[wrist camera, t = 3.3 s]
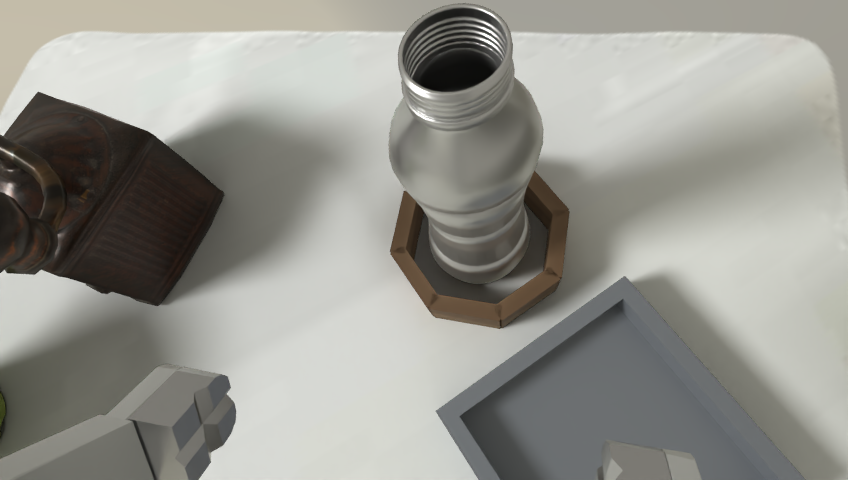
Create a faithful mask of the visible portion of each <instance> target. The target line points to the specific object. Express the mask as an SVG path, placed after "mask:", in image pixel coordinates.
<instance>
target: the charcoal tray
mask: <svg viewBox="0 0 848 480" xmlns="http://www.w3.org/2000/svg"><path fill="white" fill-rule="evenodd" d="M436 412H437V414H438V416H439V417H440V419H441V420H442V422H443V424H444V425H445V427H446V428H447V430H448V432H449V433H450V435H451V436H452V438H453V440H454V441H455V443H456V444H457V446H458V447H459V449H460V451H461V452H462V454H463V455H464V457H465V459H466V460H467V462H468V463H469V465H470V467H471V468H472V470H473V471H474V473H475V475H476V476H477V478H478V479H479V480H595V476H596V472H597V469H598V468H599V467H601V466H602V457H601V451H602V447H603V444H604V442H605V440H612V441H619V442H625V443H631V444H637V445H644V446H650V447H656V448H659V449H667V450H673V451H680V452H686V453H690V454H691V455H692V456H693V457H694V458H695V461H696V464H697V467H698V470H699V473H700V476H701V478H702V480H805V479H804V477H803V476H802V475H801V474H800V473H799V472H798V471H797V470H796V468H795V467H794V466H793V465H792V464H791V463H790V462H789V460H788V459H787V458H786V457H785V456H784V455H783V454H782V453H781V451H780V450H779V449H778V448H777V447H776V446H775V445H774V444H773V442H772V441H771V440H770V439H769V438H768V437H767V436H766V435H765V433H764V432H763V431H762V430H761V429H760V428H759V427H758V426H757V424H756V423H755V422H754V421H753V420H752V419H751V418H750V416H749V415H748V414H747V413H746V412H745V411H744V410H743V409H742V407H741V406H740V405H739V404H738V403H737V402H736V401H735V400H734V398H733V397H732V396H731V395H730V394H729V393H728V392H727V391H726V389H725V388H724V387H723V386H722V385H721V384H720V383H719V382H718V380H717V379H716V378H715V377H714V376H713V375H712V374H711V372H710V371H709V370H708V369H707V368H706V367H705V366H704V365H703V363H702V362H701V361H700V360H699V359H698V358H697V357H696V356H695V354H694V353H693V352H692V351H691V350H690V349H689V348H688V347H687V345H686V344H685V343H684V342H683V341H682V340H681V339H680V338H679V336H678V335H677V334H676V333H675V332H674V331H673V330H672V328H671V327H670V326H669V325H668V324H667V323H666V322H665V321H664V319H663V318H662V317H661V316H660V315H659V314H658V313H657V312H656V310H655V309H654V308H653V307H652V306H651V305H650V304H649V303H648V301H647V300H646V299H645V298H644V297H643V296H642V295H641V294H640V292H639V291H638V290H637V289H636V288H635V287H634V286H633V284H632V283H631V282H630V281H629V280H628V279H627V278H626V277H625V276H624V277H623V278H621V279H620V280H618V281H617V282H616V283H614V284H613V285H611V286H610V287H609V288H607V289H606V290H604V291H603V292H602V293H600V294H599V295H597V296H596V297H595V298H593V299H592V300H590V301H589V302H588V303H586V304H585V305H583V306H582V307H581V308H579V309H578V310H576V311H575V312H574V313H572V314H571V315H569V316H568V317H567V318H565V319H564V320H562V321H561V322H560V323H558V324H557V325H555V326H554V327H553V328H551V329H550V330H548V331H547V332H546V333H544V334H543V335H541V336H540V337H539V338H537V339H536V340H534V341H533V342H532V343H530V344H529V345H527V346H526V347H525V348H523V349H522V350H520V351H519V352H518V353H516V354H515V355H513V356H512V357H511V358H509V359H508V360H506V361H505V362H504V363H502V364H501V365H499V366H498V367H497V368H495V369H494V370H492V371H491V372H490V373H488V374H487V375H485V376H484V377H483V378H481V379H480V380H478V381H477V382H476V383H474V384H473V385H471V386H470V387H469V388H467V389H466V390H464V391H463V392H462V393H460V394H459V395H457V396H456V397H455V398H453V399H452V400H450V401H449V402H448V403H446V404H445V405H443V406H442V407H441V408H439V409H438V410H436Z"/></svg>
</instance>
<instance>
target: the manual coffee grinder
mask: <svg viewBox="0 0 848 480" xmlns="http://www.w3.org/2000/svg"><path fill="white" fill-rule="evenodd" d="M223 196H224V192H223V191H221V190H219V189H218V188H217V187H216V186H215V185H214V184H212V183H211V182H210V181H209V180H208V179H207V178H206V177H205V176H203V175H202V174H201V173H200V172H199V171H198V170H196V169H195V168H194V167H193V166H192V165H190V164H189V163H188V162H187V161H186V160H184V159H183V158H182V157H181V156H179V155H178V154H177V153H176V152H174V151H173V150H172V149H171V148H169V147H168V146H167V145H166V144H164V143H163V142H162V141H161V140H159V139H158V138H157V137H156V136H154V135H153V134H151V133H150V132H148V131H145V130H143V129H140V128H138V127H135V126H132V125H130V124H127V123H124V122H122V121H119V120H117V119H114V118H111V117H109V116H106V115H104V114H101V113H99V112H96V111H94V110H91V109H89V108H86V107H83V106H80V105H77V104H73V103H70V102H66V101H63V100H60V99H56V98H53V97H51V96H48V95H45V94H43V93H40V92H37V94H36V95H35V96H34V97H33V99H32V100H31V101H30V102H29V104H28V105H27V106H26V107H25V109H24V110H23V111H22V112H21V113H20V115H19V116H18V117H17V119H16V120H15V121H14V123H13V124H12V125H11V127H10V128H9V129H8V131H7V132H6V133H5V135H4V136H2V135H0V273H1V272H2V271H3V270H5V271H6V272H7V273H16V274H34V275H35V274H36V273H37V272H39V271H40V270H44V271H46V272H49V273H51V274H54V275H57V276H60V277H66V278H70V279H73V280H76V281H79V282H83V283H86V285H87V286H89V287H91V288H93V289H94V290H96V291H98V292H100V293H104V294H108V293H110V292H115V293H118V294H122V295H125V296H128V297H131V298H133V299H135V300H136V301H139V302H143V303H147V304H151V305H155V306H159V305H160V303H161V302H162V301H163V299H164V298H165V297H166V296H167V294H168V293H169V292H170V290H171V289H172V288H173V286H174V285H175V284H176V282H177V281H178V280H179V278H180V277H181V275H182V274H183V272H184V270H185V268H186V267H187V265H188V263H189V262H190V260H191V258H192V257H193V255H194V253H195V252H196V250H197V248H198V246H199V245H200V243H201V241H202V240H203V238H204V236H205V235H206V233H207V231H208V229H209V228H210V226H211V224H212V222H213V219H214V217H215V215H216V212H217V210H218V208H219V205H220V203H221V201H222V198H223Z"/></svg>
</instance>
